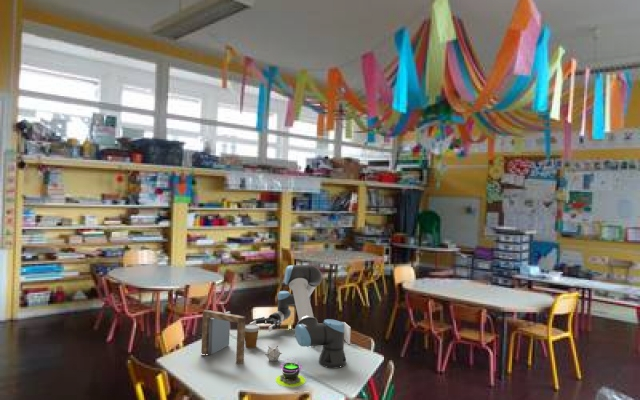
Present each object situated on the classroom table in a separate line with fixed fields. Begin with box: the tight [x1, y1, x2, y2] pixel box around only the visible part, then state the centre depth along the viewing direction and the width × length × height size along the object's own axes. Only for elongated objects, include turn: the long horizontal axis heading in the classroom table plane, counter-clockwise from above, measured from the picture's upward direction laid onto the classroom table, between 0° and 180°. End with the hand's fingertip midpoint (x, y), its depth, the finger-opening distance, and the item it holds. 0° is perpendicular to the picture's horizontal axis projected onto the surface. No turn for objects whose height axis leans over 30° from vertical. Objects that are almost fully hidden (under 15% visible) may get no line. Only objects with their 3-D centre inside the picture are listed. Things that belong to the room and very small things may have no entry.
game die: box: [265, 345, 283, 363], centre depth 253 cm, size 9×8×10 cm
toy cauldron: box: [275, 357, 306, 388], centre depth 229 cm, size 15×15×11 cm
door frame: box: [200, 309, 246, 365], centre depth 253 cm, size 26×3×25 cm, turn 67°
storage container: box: [310, 321, 352, 348], centre depth 286 cm, size 25×11×11 cm, turn 107°
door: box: [207, 311, 231, 356], centre depth 265 cm, size 19×4×20 cm, turn 157°
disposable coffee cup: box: [244, 323, 260, 349], centre depth 274 cm, size 10×10×12 cm
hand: (259, 327), depth 283 cm, fingers open, 13 cm apart
